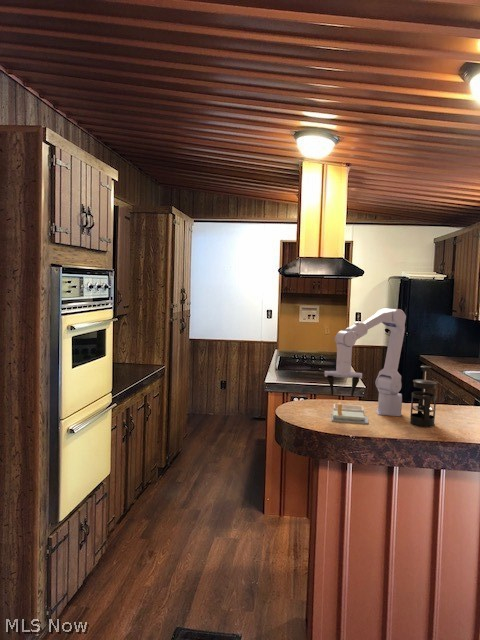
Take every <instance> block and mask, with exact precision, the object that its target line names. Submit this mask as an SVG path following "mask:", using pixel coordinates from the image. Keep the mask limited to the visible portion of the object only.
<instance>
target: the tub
mask: <svg viewBox="0 0 480 640" xmlns="http://www.w3.org/2000/svg"><path fill="white" fill-rule="evenodd" d="M333 410H334V411H338V403H333V406H332V411H333ZM342 411H347V412H360V413H363V414H364V413H365V409H364V406H363V405H355V404H343V403H342Z"/></svg>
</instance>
